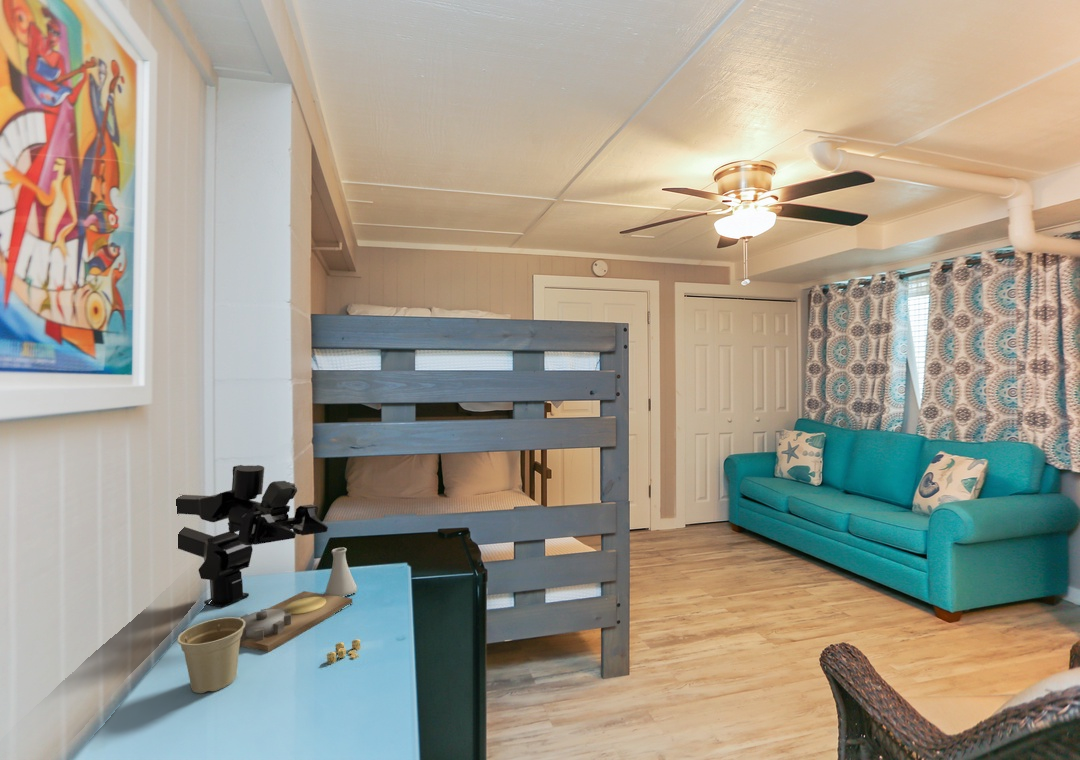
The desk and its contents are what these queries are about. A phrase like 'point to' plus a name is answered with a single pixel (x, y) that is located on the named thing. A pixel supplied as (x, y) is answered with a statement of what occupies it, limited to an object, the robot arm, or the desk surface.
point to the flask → (340, 576)
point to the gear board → (298, 621)
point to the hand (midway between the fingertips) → (311, 532)
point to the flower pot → (212, 652)
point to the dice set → (343, 651)
